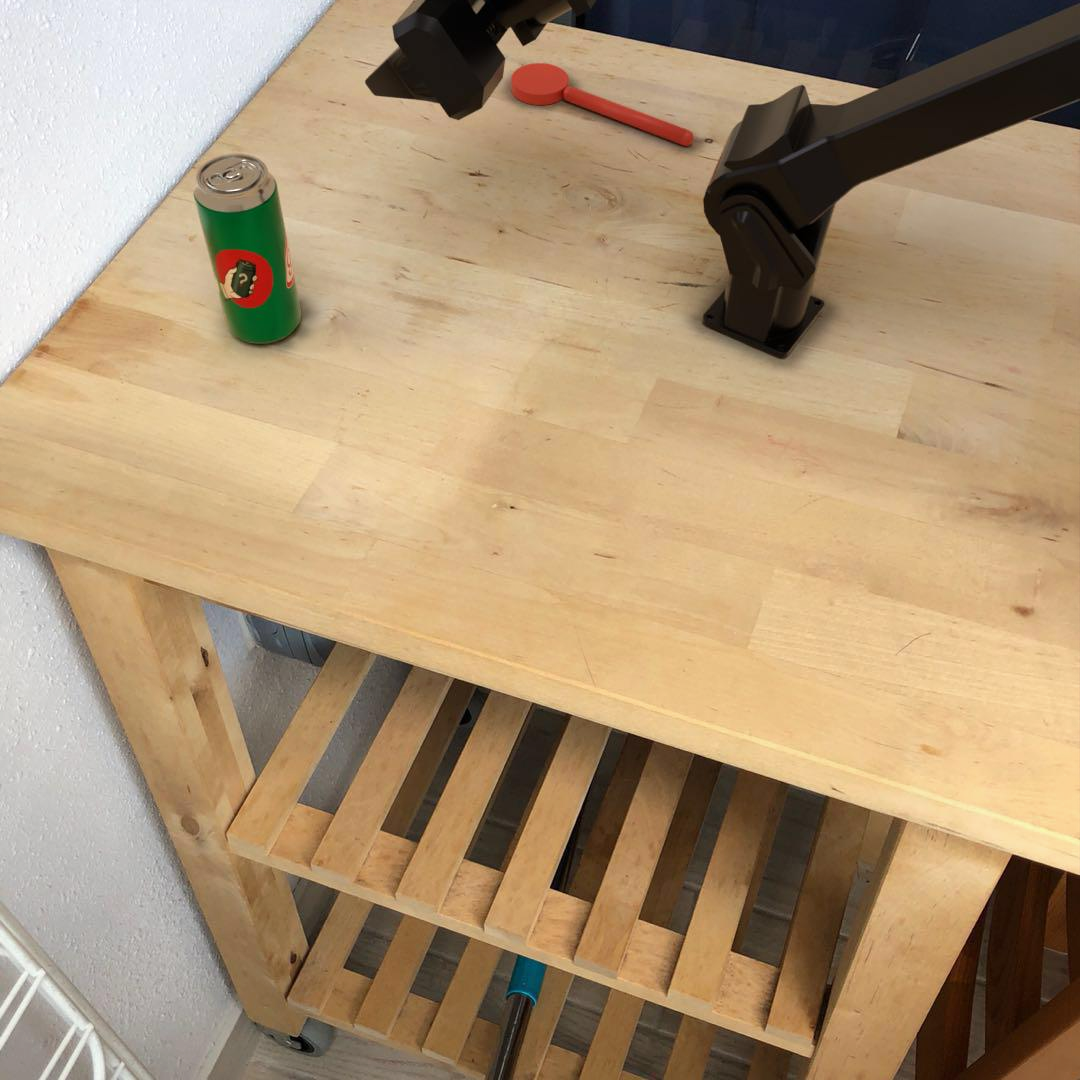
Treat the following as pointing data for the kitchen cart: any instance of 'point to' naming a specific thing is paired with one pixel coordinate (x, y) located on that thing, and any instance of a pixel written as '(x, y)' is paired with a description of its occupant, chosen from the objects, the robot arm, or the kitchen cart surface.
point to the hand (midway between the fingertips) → (400, 50)
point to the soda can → (248, 247)
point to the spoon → (585, 100)
